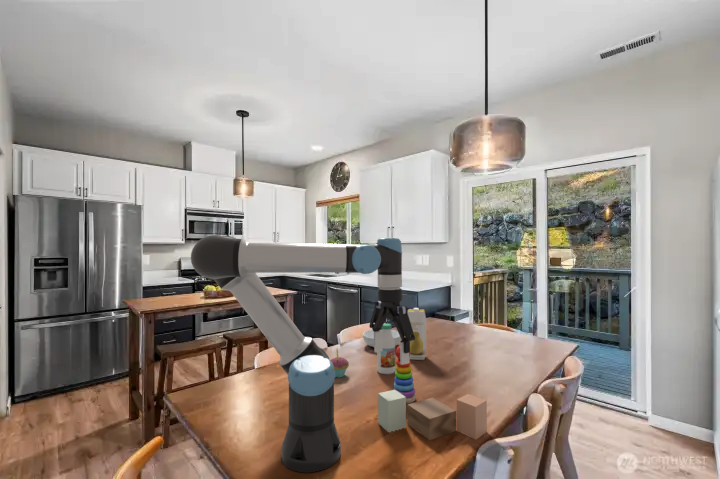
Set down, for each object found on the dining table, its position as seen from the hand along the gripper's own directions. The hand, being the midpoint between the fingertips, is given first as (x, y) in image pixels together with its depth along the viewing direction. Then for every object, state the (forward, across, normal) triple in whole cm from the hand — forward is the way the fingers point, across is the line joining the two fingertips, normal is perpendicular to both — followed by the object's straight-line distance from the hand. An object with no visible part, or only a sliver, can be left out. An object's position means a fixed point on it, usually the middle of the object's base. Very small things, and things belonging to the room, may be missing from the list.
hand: (390, 357), depth 106 cm
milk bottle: (+20, +35, -23) cm, 46 cm away
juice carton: (+20, +42, -46) cm, 65 cm away
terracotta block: (+20, -17, -16) cm, 31 cm away
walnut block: (+20, -9, -8) cm, 23 cm away
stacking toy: (+20, +10, -12) cm, 25 cm away
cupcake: (+19, +42, -3) cm, 46 cm away
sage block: (+19, -2, +2) cm, 19 cm away
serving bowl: (+20, +66, -43) cm, 81 cm away
